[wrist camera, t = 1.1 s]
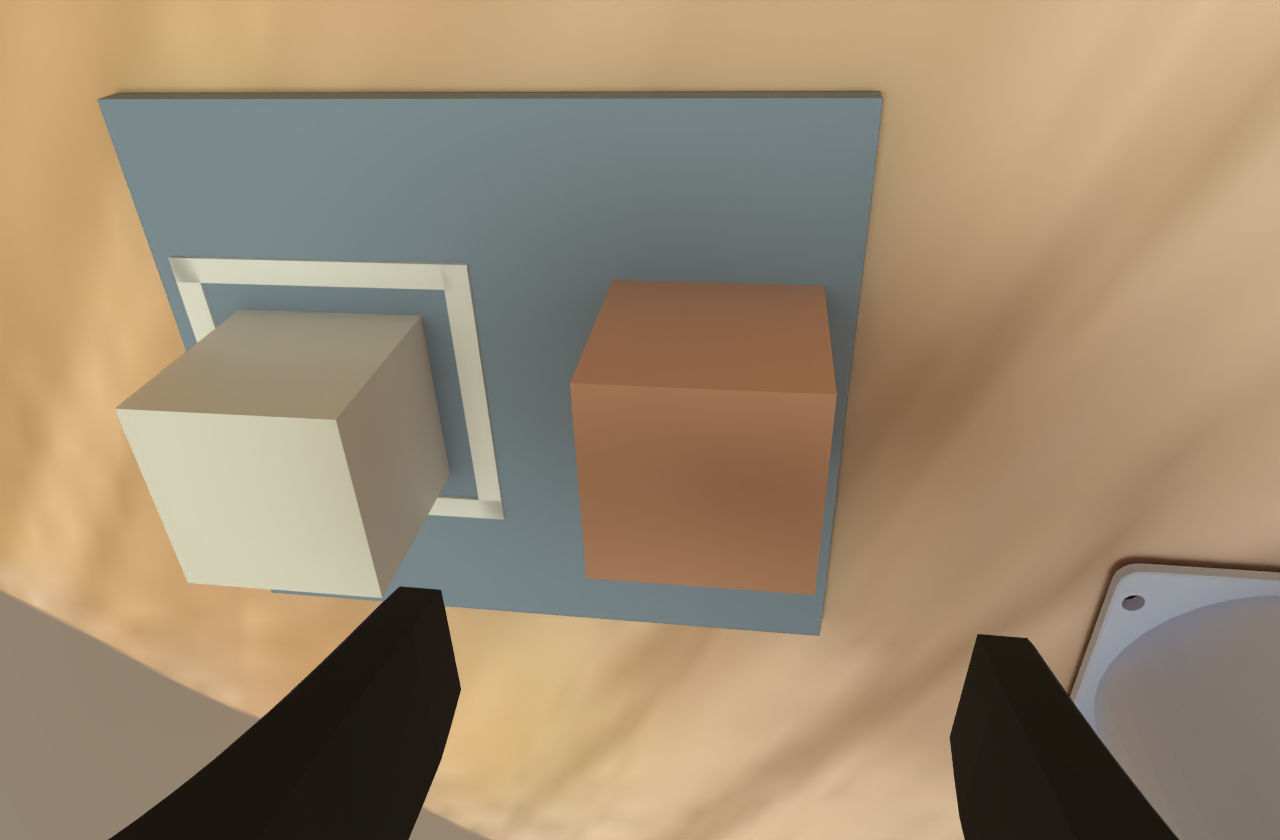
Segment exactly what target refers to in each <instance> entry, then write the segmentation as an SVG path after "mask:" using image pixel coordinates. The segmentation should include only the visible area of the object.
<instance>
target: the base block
mask: <svg viewBox="0 0 1280 840" xmlns="http://www.w3.org/2000/svg"><path fill="white" fill-rule="evenodd" d="M115 411H116V413H117V415H118V418H119V420H120V422H121V425H122V427H123V430H124V432H125V434H126V437H127V439H128V441H129V444H130V446H131V449H132V451H133V453H134V456H135V458H136V460H137V463H138V465H139V468H140V470H141V472H142V475H143V477H144V479H145V482H146V484H147V487H148V489H149V491H150V494H151V496H152V498H153V501H154V503H155V505H156V508H157V510H158V513H159V515H160V517H161V520H162V522H163V524H164V527H165V529H166V532H167V534H168V536H169V539H170V541H171V543H172V546H173V548H174V551H175V553H176V555H177V558H178V560H179V562H180V565H181V567H182V569H183V572H184V574H185V577H186V579H187V581H188V583H197V584H210V585H222V586H235V587H248V588H260V589H273V590H286V591H299V592H311V593H324V594H337V595H349V596H362V597H375V598H383V596H384V594H385V592H386V590H387V589H388V587H389V585H390V583H391V581H392V580H393V578H394V576H395V574H396V572H397V570H398V569H399V567H400V565H401V563H402V561H403V560H404V558H405V556H406V554H407V552H408V550H409V549H410V547H411V545H412V543H413V541H414V539H415V538H416V536H417V534H418V532H419V530H420V529H421V527H422V525H423V523H424V521H425V519H426V518H427V516H428V514H429V512H430V510H431V509H432V507H433V505H434V503H435V501H436V499H437V498H438V496H439V494H440V492H441V490H442V489H443V487H444V485H445V483H446V481H447V479H448V478H449V476H450V471H449V465H448V460H447V455H446V449H445V444H444V438H443V433H442V427H441V422H440V416H439V411H438V405H437V400H436V394H435V389H434V384H433V378H432V373H431V367H430V362H429V356H428V351H427V345H426V340H425V334H424V329H423V324H422V318H421V316H417V315H387V314H357V313H327V312H297V311H267V310H238V311H237V312H235V313H234V314H233V315H232V316H230V317H229V318H228V319H226V320H225V321H224V322H223V323H221V324H220V325H219V326H218V327H216V328H215V329H214V330H213V331H211V332H210V333H209V334H208V335H206V336H205V337H204V338H203V339H201V340H200V341H199V342H198V343H196V344H195V345H194V346H193V347H191V348H190V349H189V350H188V351H186V352H185V353H184V354H183V355H181V356H180V357H179V358H178V359H176V360H175V361H174V362H173V363H171V364H170V365H169V366H168V367H166V368H165V369H164V370H163V371H161V372H160V373H159V374H158V375H156V376H155V377H154V378H153V379H151V380H150V381H149V382H148V383H146V384H145V385H144V386H143V387H141V388H140V389H139V390H138V391H136V392H135V393H134V394H133V395H131V396H130V397H129V398H128V399H126V400H125V401H124V402H123V403H121V404H120V405H119V406H118V407H116V408H115Z"/></svg>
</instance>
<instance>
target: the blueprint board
mask: <svg viewBox="0 0 1280 840" xmlns="http://www.w3.org/2000/svg"><path fill="white" fill-rule="evenodd" d="M97 100H98V103H99V105H100V108H101V111H102V114H103V117H104V120H105V122H106V125H107V128H108V131H109V134H110V137H111V139H112V142H113V145H114V148H115V151H116V154H117V156H118V159H119V162H120V165H121V168H122V170H123V173H124V176H125V179H126V182H127V185H128V187H129V190H130V193H131V196H132V199H133V202H134V204H135V207H136V210H137V213H138V216H139V219H140V221H141V224H142V227H143V230H144V233H145V235H146V238H147V241H148V244H149V247H150V250H151V252H152V255H153V258H154V261H155V264H156V267H157V269H158V272H159V275H160V278H161V281H162V284H163V286H164V289H165V292H166V295H167V298H168V300H169V303H170V306H171V309H172V312H173V315H174V317H175V320H176V323H177V326H178V329H179V332H180V334H181V337H182V340H183V343H184V346H185V349H186V351H188V350H189V349H190V348H191V347H193V346H194V345H195V344H196V343H198V342H199V341H200V340H201V339H203V338H204V337H205V336H206V335H208V334H209V333H210V332H211V331H213V330H214V329H215V328H216V327H218V326H219V325H220V324H221V323H223V322H224V321H225V320H226V319H228V318H229V317H230V316H232V315H233V314H234V313H235V312H237V311H238V310H267V311H297V312H327V313H357V314H387V315H417V316H421V318H422V324H423V329H424V334H425V340H426V345H427V351H428V356H429V362H430V367H431V373H432V378H433V384H434V389H435V394H436V400H437V405H438V411H439V416H440V422H441V427H442V433H443V438H444V444H445V449H446V455H447V460H448V465H449V471H450V476H449V478H448V479H447V481H446V483H445V485H444V487H443V489H442V490H441V492H440V494H439V496H438V498H437V499H436V501H435V503H434V505H433V507H432V509H431V510H430V512H429V514H428V516H427V518H426V519H425V521H424V523H423V525H422V527H421V529H420V530H419V532H418V534H417V536H416V538H415V539H414V541H413V543H412V545H411V547H410V549H409V550H408V552H407V554H406V556H405V558H404V560H403V561H402V563H401V565H400V567H399V569H398V570H397V572H396V574H395V576H394V578H393V580H392V581H391V583H390V585H389V587H388V589H387V590H386V592H385V594H384V596H383V598H375V597H362V596H349V595H337V594H324V593H311V592H299V591H286V590H273V589H271V592H273V593H285V594H298V595H311V596H323V597H336V598H348V599H361V600H374V601H384V600H385V599H387V598H388V597H389V596H390V595H391V594H392V593H393V592H394V591H395V590H396V589H397V588H398V587H400V586H403V587H415V588H427V589H439V590H441V591H442V596H443V601H444V606H449V607H462V608H475V609H487V610H500V611H512V612H525V613H538V614H550V615H563V616H575V617H588V618H601V619H613V620H626V621H638V622H651V623H664V624H676V625H689V626H702V627H714V628H727V629H739V630H752V631H765V632H777V633H790V634H802V635H815V636H820V629H821V620H822V612H823V604H824V595H825V587H826V578H827V570H828V561H829V553H830V544H831V536H832V527H833V519H834V510H835V502H836V493H837V485H838V476H839V468H840V459H841V451H842V442H843V434H844V426H845V417H846V409H847V400H848V392H849V383H850V375H851V366H852V358H853V349H854V341H855V332H856V324H857V315H858V307H859V298H860V290H861V281H862V273H863V264H864V256H865V247H866V239H867V231H868V222H869V214H870V205H871V197H872V188H873V180H874V171H875V163H876V154H877V146H878V137H879V129H880V120H881V112H882V103H883V97H882V95H881V93H880V91H831V92H438V93H115V94H112V95H109V96H106V97H103V98H100V99H97ZM612 280H627V281H665V282H702V283H740V284H777V285H815V286H824V288H825V297H826V306H827V314H828V323H829V332H830V340H831V349H832V358H833V366H834V375H835V383H836V392H837V397H836V407H835V416H834V425H833V434H832V443H831V452H830V461H829V470H828V479H827V489H826V498H825V507H824V516H823V525H822V534H821V543H820V552H819V562H818V571H817V580H816V589H815V595H807V594H794V593H780V592H766V591H753V590H739V589H725V588H712V587H698V586H684V585H671V584H657V583H643V582H630V581H616V580H602V579H589V578H586V568H585V557H584V545H583V533H582V521H581V509H580V497H579V485H578V474H577V462H576V450H575V438H574V426H573V414H572V403H571V391H570V382H571V379H572V377H573V374H574V372H575V370H576V367H577V365H578V362H579V360H580V357H581V355H582V353H583V350H584V348H585V345H586V343H587V340H588V338H589V336H590V333H591V331H592V328H593V326H594V323H595V321H596V319H597V316H598V314H599V311H600V309H601V306H602V304H603V302H604V299H605V297H606V294H607V292H608V289H609V287H610V285H611V282H612Z"/></svg>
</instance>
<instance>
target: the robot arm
mask: <svg viewBox="0 0 1280 840" xmlns="http://www.w3.org/2000/svg"><path fill="white" fill-rule="evenodd" d="M1133 595H1137V596H1136V597H1134V598H1132V599H1127V600H1124V599H1125V598H1127V597H1129V596H1133ZM460 691H461V687H460V682H459V677H458V672H457V667H456V662H455V657H454V651H453V646H452V641H451V636H450V631H449V626H448V621H447V616H446V611H445V606H444V601H443V596H442V591H441V590H439V589H427V588H415V587H403V586H400V587H398V588H397V589H396V590H395V591H394V592H393V593H392V594H391V595H390V596H389V597H388V598H387V599H385V600H384V601H383V602H382V603H381V604H380V605H379V606H378V607H377V608H376V609H375V610H374V611H373V612H372V613H371V614H370V615H369V616H368V617H367V618H366V619H365V620H364V621H363V622H362V623H361V624H360V625H359V626H358V627H357V628H356V629H355V630H354V631H353V632H352V633H351V634H350V635H349V636H348V637H347V638H346V639H345V640H344V641H343V642H342V643H341V644H340V645H339V646H338V647H337V648H336V649H335V650H334V651H333V652H332V653H331V654H330V655H329V656H328V657H327V658H326V659H325V660H324V661H323V662H322V663H321V664H319V665H318V666H317V667H316V668H315V669H314V670H313V671H312V672H311V673H310V674H309V675H308V676H307V677H306V678H305V679H304V680H303V681H301V682H300V683H299V684H298V685H297V686H296V687H295V688H294V689H293V690H292V691H291V692H290V693H289V694H288V695H287V696H286V697H284V698H283V699H282V700H281V701H280V702H279V703H278V704H277V705H276V706H275V707H274V708H273V709H271V710H270V711H269V712H268V713H267V714H266V715H265V716H264V717H262V718H261V719H260V720H259V721H258V722H257V723H256V724H254V725H253V726H252V727H251V728H250V729H249V730H247V731H246V732H245V733H244V734H243V735H242V736H241V737H240V738H238V739H237V740H236V741H235V742H234V743H232V744H231V745H230V746H229V747H228V748H227V749H226V750H224V752H222V753H221V754H220V755H219V756H217V757H216V758H215V759H214V760H213V761H211V762H210V763H209V764H208V765H207V766H206V767H204V768H203V769H202V770H200V771H199V772H198V773H197V774H196V775H194V776H193V777H192V778H190V779H189V780H188V781H187V782H185V783H184V784H183V785H182V786H180V787H179V788H178V789H177V790H175V791H174V792H173V793H171V794H170V795H169V796H167V797H166V798H165V799H164V800H162V801H161V802H160V803H158V804H157V805H156V806H154V807H153V808H152V809H150V810H149V811H148V812H146V813H145V814H144V815H143V816H141V817H140V818H138V819H137V820H136V821H134V822H133V823H131V824H130V825H129V826H127V827H126V828H124V829H123V830H122V831H120V832H119V833H117V834H116V835H114V836H113V837H112V838H110V839H109V840H408V839H409V837H410V834H411V832H412V830H413V827H414V825H415V822H416V820H417V818H418V815H419V813H420V810H421V808H422V806H423V803H424V801H425V798H426V796H427V793H428V791H429V789H430V786H431V784H432V781H433V779H434V776H435V774H436V771H437V769H438V766H439V764H440V761H441V759H442V755H443V752H444V748H445V745H446V742H447V738H448V735H449V731H450V728H451V724H452V721H453V717H454V713H455V709H456V706H457V702H458V698H459V695H460ZM950 743H951V752H952V761H953V770H954V779H955V786H956V794H957V802H958V809H959V816H960V821H961V825H962V830H963V834H964V838H965V840H1280V572H1265V571H1250V570H1235V569H1219V568H1204V567H1189V566H1173V565H1158V564H1143V563H1137V564H1129V565H1126V566H1124V567H1122V568H1120V569H1119V570H1118V571H1116V573H1115V574H1114V576H1113V578H1112V580H1111V583H1110V586H1109V589H1108V592H1107V594H1106V597H1105V600H1104V603H1103V606H1102V608H1101V611H1100V614H1099V617H1098V619H1097V622H1096V625H1095V628H1094V631H1093V633H1092V636H1091V639H1090V642H1089V645H1088V647H1087V650H1086V653H1085V656H1084V658H1083V661H1082V664H1081V667H1080V670H1079V672H1078V675H1077V678H1076V681H1075V684H1074V686H1073V689H1072V692H1071V695H1070V697H1069V695H1068V694H1067V692H1066V691H1065V690H1064V688H1063V687H1062V685H1061V684H1060V683H1059V681H1058V680H1057V678H1056V677H1055V675H1054V674H1053V672H1052V671H1051V670H1050V668H1049V667H1048V665H1047V664H1046V662H1045V661H1044V660H1043V658H1042V657H1041V655H1040V654H1039V652H1038V651H1037V649H1036V648H1035V647H1034V645H1033V644H1032V643H1031V642H1030V641H1029V640H1028V639H1027V638H1018V637H1006V636H994V635H982V634H978V635H977V638H976V642H975V646H974V649H973V653H972V657H971V661H970V664H969V668H968V672H967V675H966V679H965V683H964V686H963V690H962V694H961V698H960V701H959V705H958V709H957V712H956V716H955V720H954V723H953V727H952V731H951V735H950Z"/></svg>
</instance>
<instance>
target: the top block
mask: <svg viewBox="0 0 1280 840" xmlns="http://www.w3.org/2000/svg"><path fill="white" fill-rule="evenodd" d="M570 391H571V403H572V414H573V426H574V438H575V450H576V462H577V474H578V485H579V497H580V509H581V521H582V533H583V545H584V557H585V568H586V578H589V579H602V580H616V581H630V582H643V583H657V584H671V585H684V586H698V587H712V588H725V589H739V590H753V591H766V592H780V593H794V594H807V595H815V589H816V580H817V571H818V562H819V552H820V543H821V534H822V525H823V516H824V507H825V498H826V489H827V479H828V470H829V461H830V452H831V443H832V434H833V425H834V416H835V407H836V397H837V392H836V383H835V375H834V366H833V358H832V349H831V340H830V332H829V323H828V314H827V306H826V297H825V288H824V286H815V285H777V284H740V283H702V282H665V281H627V280H612V282H611V285H610V287H609V289H608V292H607V294H606V297H605V299H604V302H603V304H602V306H601V309H600V311H599V314H598V316H597V319H596V321H595V323H594V326H593V328H592V331H591V333H590V336H589V338H588V340H587V343H586V345H585V348H584V350H583V353H582V355H581V357H580V360H579V362H578V365H577V367H576V370H575V372H574V374H573V377H572V379H571V382H570Z"/></svg>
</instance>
